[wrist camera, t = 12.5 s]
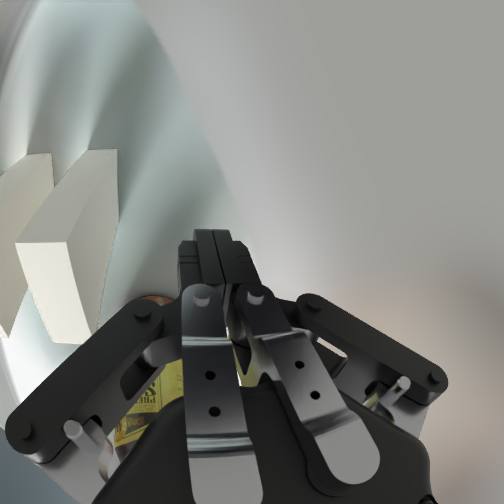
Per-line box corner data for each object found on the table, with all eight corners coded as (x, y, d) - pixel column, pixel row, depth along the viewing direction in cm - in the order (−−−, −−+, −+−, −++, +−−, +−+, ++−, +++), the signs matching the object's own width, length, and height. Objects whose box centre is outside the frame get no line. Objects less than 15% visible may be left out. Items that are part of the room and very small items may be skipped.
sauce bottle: (143, 278, 21) (171, 570, 6) (204, 311, 25) (264, 549, 9) (105, 323, 23) (113, 556, 7) (161, 348, 26) (194, 552, 11)
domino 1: (59, 222, 17) (8, 338, 9) (36, 222, 16) (-21, 334, 8) (51, 152, 14) (-35, 244, 6) (26, 155, 13) (-65, 244, 5)
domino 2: (119, 221, 18) (94, 345, 10) (91, 221, 17) (53, 342, 10) (117, 148, 15) (66, 242, 7) (86, 150, 15) (14, 243, 7)
